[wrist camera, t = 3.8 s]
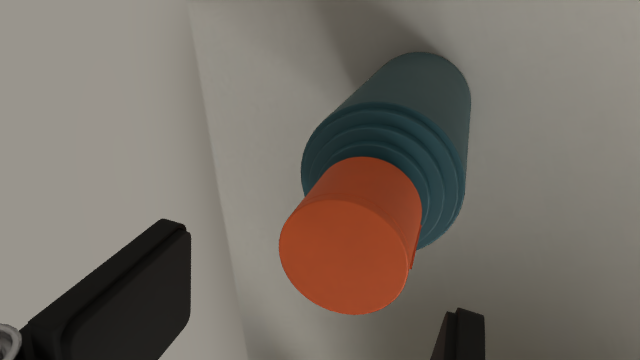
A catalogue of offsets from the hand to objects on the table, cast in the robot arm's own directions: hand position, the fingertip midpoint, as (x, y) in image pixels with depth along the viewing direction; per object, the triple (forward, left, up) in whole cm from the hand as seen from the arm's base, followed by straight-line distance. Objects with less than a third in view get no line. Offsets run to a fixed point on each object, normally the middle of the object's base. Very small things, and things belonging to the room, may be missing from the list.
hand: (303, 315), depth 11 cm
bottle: (0, 0, -21) cm, 21 cm away
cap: (0, 0, -6) cm, 6 cm away
